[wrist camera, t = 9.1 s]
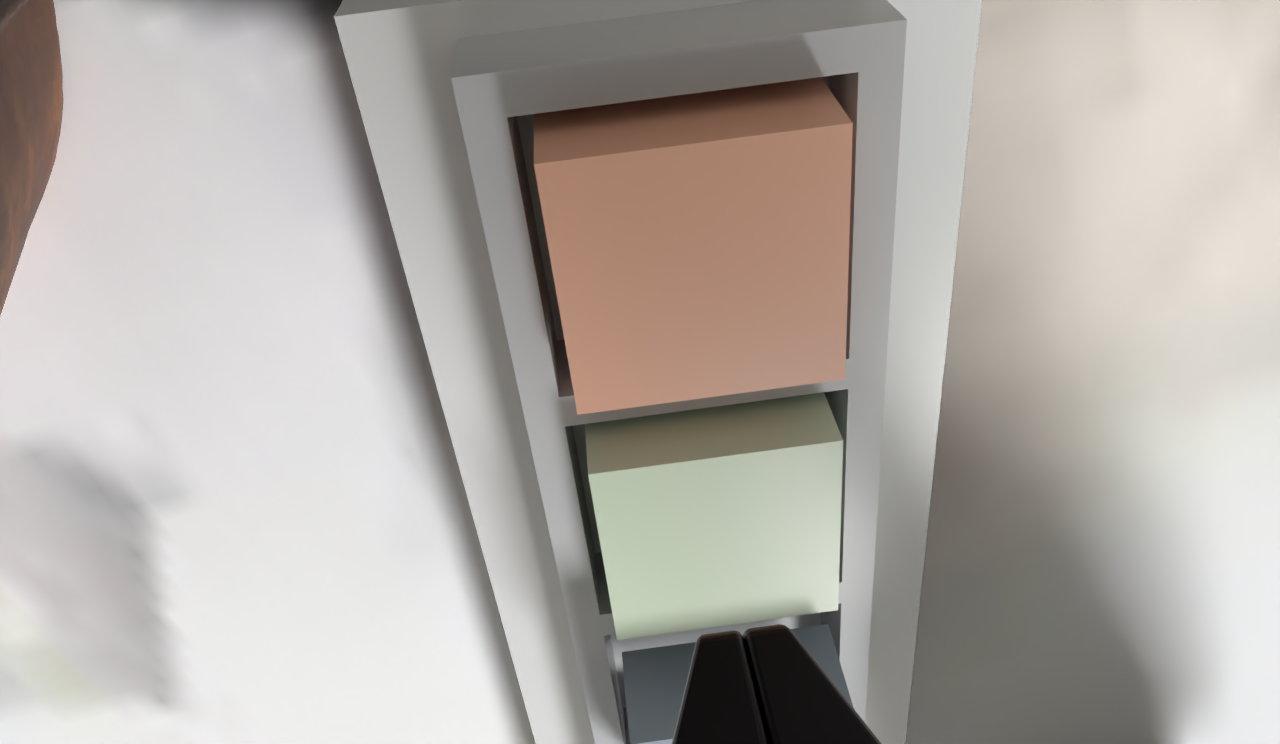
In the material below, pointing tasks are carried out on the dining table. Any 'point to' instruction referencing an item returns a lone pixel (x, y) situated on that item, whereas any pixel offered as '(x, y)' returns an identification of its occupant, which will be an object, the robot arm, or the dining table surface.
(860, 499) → the white long flat frame
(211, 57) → the dining table surface
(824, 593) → the sage key
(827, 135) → the terracotta square block
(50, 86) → the brown tapered pot
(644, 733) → the slate key
